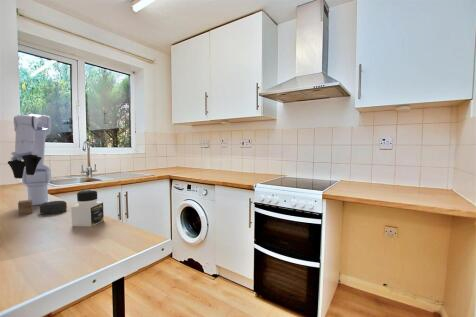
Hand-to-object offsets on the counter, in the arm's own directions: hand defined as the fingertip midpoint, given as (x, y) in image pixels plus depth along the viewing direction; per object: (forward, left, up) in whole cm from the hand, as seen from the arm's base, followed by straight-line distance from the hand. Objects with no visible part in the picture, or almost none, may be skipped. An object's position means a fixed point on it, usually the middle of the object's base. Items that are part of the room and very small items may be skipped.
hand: (24, 176), depth 91 cm
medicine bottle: (+25, +18, -16) cm, 35 cm away
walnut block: (-6, -1, -16) cm, 17 cm away
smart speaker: (-1, +8, -16) cm, 18 cm away
